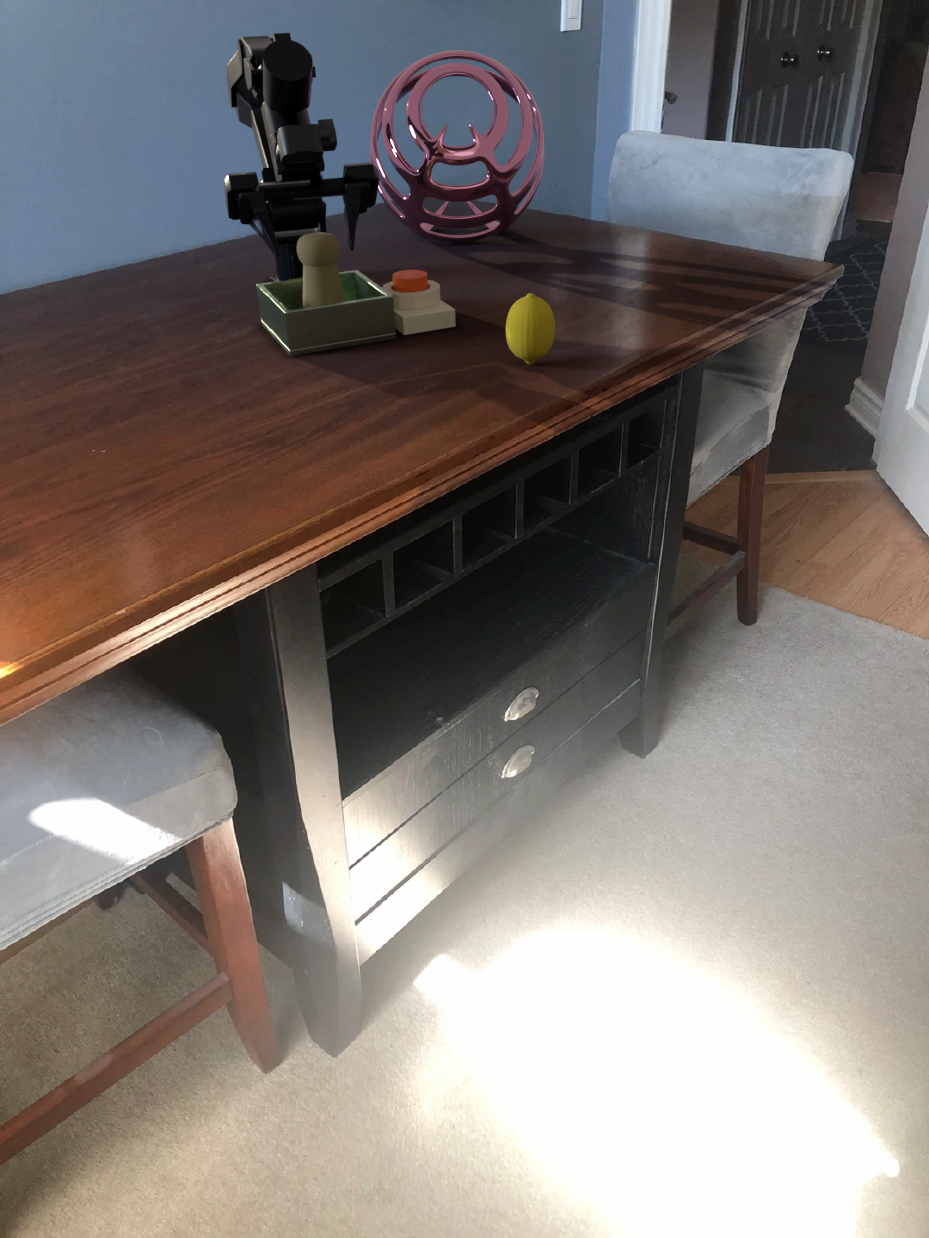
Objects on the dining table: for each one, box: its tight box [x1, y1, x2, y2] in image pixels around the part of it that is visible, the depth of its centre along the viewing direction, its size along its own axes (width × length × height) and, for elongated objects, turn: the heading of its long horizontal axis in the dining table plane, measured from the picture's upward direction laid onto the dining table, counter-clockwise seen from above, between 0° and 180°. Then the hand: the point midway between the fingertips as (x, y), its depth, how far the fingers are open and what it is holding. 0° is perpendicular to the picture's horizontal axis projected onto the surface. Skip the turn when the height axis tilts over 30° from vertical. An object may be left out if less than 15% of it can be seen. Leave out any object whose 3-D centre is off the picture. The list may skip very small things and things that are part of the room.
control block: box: [381, 279, 456, 336], centre depth 127 cm, size 12×7×4 cm, turn 24°
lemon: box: [505, 292, 556, 365], centre depth 110 cm, size 6×6×8 cm
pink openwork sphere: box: [369, 49, 546, 244], centre depth 157 cm, size 28×28×27 cm
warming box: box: [255, 269, 397, 357], centre depth 123 cm, size 13×13×5 cm
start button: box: [392, 269, 429, 292], centre depth 125 cm, size 4×4×2 cm
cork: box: [297, 232, 345, 308], centre depth 121 cm, size 6×6×11 cm
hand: (315, 252), depth 121 cm, fingers open, 9 cm apart
